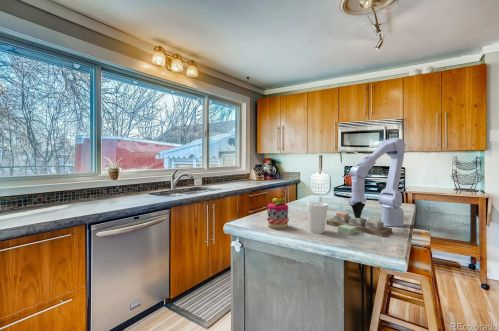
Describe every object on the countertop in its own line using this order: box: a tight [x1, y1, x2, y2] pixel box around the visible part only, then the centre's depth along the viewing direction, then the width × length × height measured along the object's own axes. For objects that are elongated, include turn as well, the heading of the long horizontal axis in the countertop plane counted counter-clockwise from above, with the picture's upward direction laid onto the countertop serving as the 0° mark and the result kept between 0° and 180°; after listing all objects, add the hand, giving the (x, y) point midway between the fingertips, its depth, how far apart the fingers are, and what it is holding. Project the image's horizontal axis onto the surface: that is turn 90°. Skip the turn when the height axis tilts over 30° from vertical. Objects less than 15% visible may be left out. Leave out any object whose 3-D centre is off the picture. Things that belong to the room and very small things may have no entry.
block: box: [337, 224, 358, 235], centre depth 118 cm, size 6×6×2 cm
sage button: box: [351, 216, 365, 221], centre depth 124 cm, size 4×4×3 cm
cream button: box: [366, 217, 382, 224], centre depth 118 cm, size 4×4×3 cm
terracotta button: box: [335, 211, 350, 218], centre depth 130 cm, size 4×4×3 cm
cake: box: [266, 197, 290, 230], centre depth 127 cm, size 10×11×15 cm
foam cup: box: [306, 201, 329, 234], centre depth 119 cm, size 10×9×13 cm
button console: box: [326, 215, 393, 238], centre depth 125 cm, size 28×10×4 cm, turn 41°
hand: (357, 217), depth 124 cm, fingers closed, pressing on sage button
